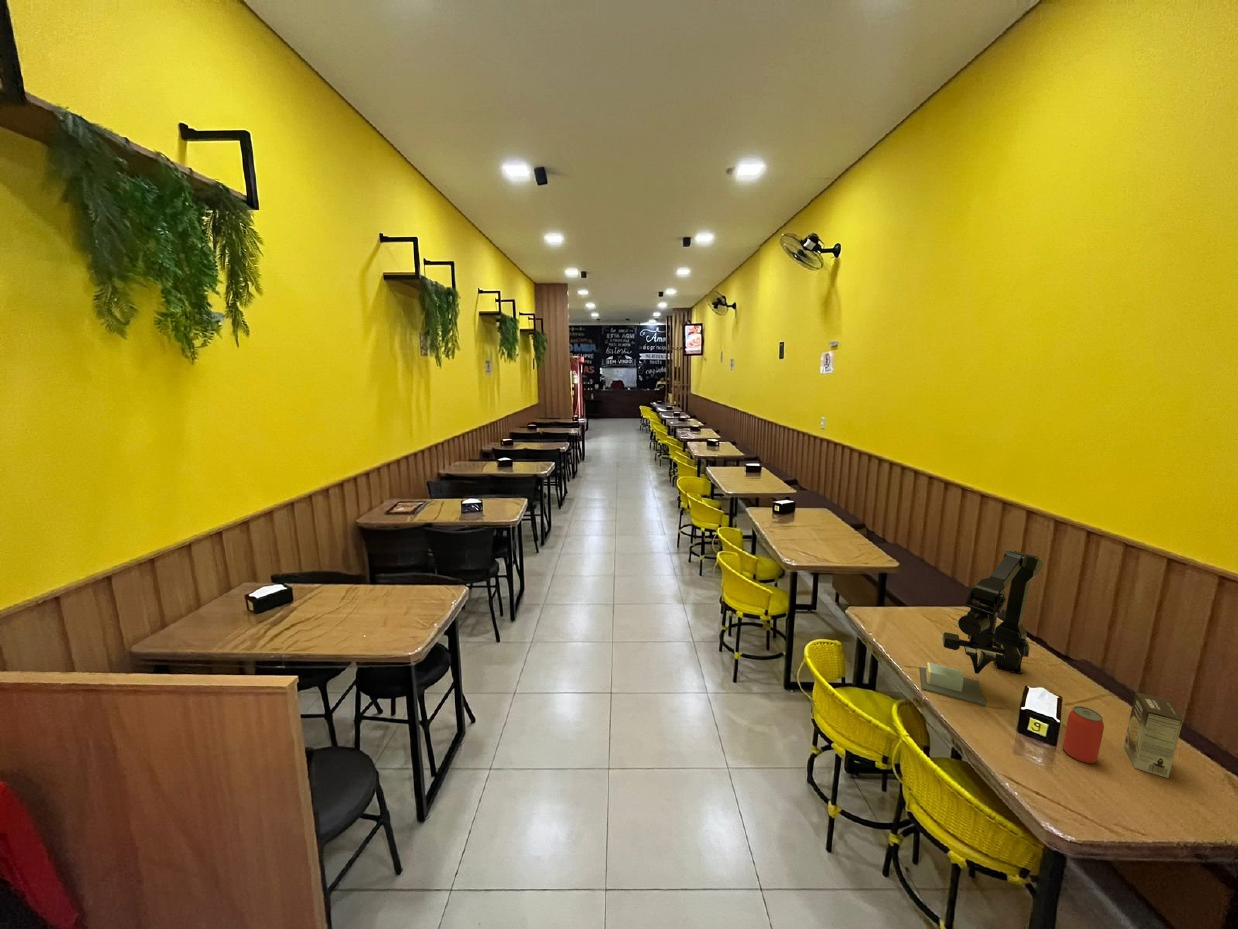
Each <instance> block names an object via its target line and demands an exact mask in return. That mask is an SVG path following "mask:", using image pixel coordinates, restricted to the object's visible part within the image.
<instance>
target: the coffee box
mask: <svg viewBox="0 0 1238 929" xmlns="http://www.w3.org/2000/svg"><path fill="white" fill-rule="evenodd" d="M1183 722H1184V720H1183V718H1182V717H1181V715H1180V714H1179V712H1178V710H1177V709H1176V708H1175V706H1174V705H1173V703H1172V701H1170V700H1169V699H1165V698H1162V697H1158V696H1154V695H1150V694H1145V693H1141V692H1135V693H1134V697H1133V701H1132V706H1131V710H1130V714H1129V720H1128V724H1127V725H1128V726H1127V730H1126V734H1125V739H1124V742H1123V747H1124V750H1125V751H1126V754H1127V756H1128V758H1129V760H1130V761H1131V764H1132V766H1133V768H1135V769H1137V770H1140V771H1143V772H1146V773H1150V774H1153V775H1157V776H1159V777H1162V778H1163V777H1164V778H1167V779H1169V776H1170V774H1171V769H1172V765H1173V761H1174V757H1175V753H1176V749H1177V745H1178V740H1179V737H1180V735H1181V734H1180V733H1181V729H1182V726H1183Z"/></svg>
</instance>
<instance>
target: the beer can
mask: <svg viewBox="0 0 1238 929" xmlns="http://www.w3.org/2000/svg"><path fill="white" fill-rule="evenodd" d="M1103 719H1104V718H1103V716H1102V715H1101V714H1100V713H1099V712H1097V711H1096V710H1094V709H1091V708H1090V707H1087V706H1081V705H1075V706H1073V707H1072V709H1071V711H1070V712H1069V713H1068V716H1067V721H1066V727H1065V732H1064V737H1063V742H1062V748H1063V750H1064V752H1065V753H1066V754H1068V755H1069V757H1071V758H1073V759H1074V760H1077V761H1080V762H1081V763H1087V764H1094V763H1097V760H1098V759H1099V754H1100V750H1101V744H1102V739H1103V736H1104V735H1103V734H1104V730H1105V724H1104V720H1103Z"/></svg>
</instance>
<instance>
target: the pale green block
mask: <svg viewBox="0 0 1238 929" xmlns="http://www.w3.org/2000/svg"><path fill="white" fill-rule="evenodd" d="M926 668H927V669H926V678H927V683H928V684H932V685H935V686H939V687H943V688H947V689H951V690H955V691H959V692H962V687H963V674H962V670H961V669H957V668H954V667H949V666H945V665H941V664H938V663H937V664H936V663H933V662H929V661H927V664H926Z"/></svg>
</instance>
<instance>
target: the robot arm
mask: <svg viewBox="0 0 1238 929" xmlns="http://www.w3.org/2000/svg"><path fill="white" fill-rule="evenodd" d="M1042 568H1043V561H1042V560H1041V559H1040V557H1039V556H1036V555H1033V554H1029V553H1024V552H1021V551H1017V550H1015V551H1012V550H1007V551H1005V553H1004V555H1003V558H1002V559H1001V561H1000V562H999V564H998V565H997V566H996V568H995V569H994V571H993V572H992V573H991V574H990V576H989V577H987V578H983V579H980V580H979V581H978V582H977V583H976V584H974V585H973V586H972V588H971V590H970V593H968V594H969V595H968V597H967V599H966V602H965V605H964V606H965V607H966V608H969V611H967V613H966V614H964V615H963V616H961V617H960V618H958V619H959V620H958V622H957V625H958V628H959V629H960V631H961V632H962V633H964V634H965V635H967V640H965V639H961V638H960V636H959V634H956V633H952V632H947V631H946V632H944V633H943V634H942V645H943V648H945V649H949V650H953V651H957V650H960V647H962V648H963V649H964V653H965V655H967V657H968V656H969V657H970V660H971V661H972V662H971V663H972V666H973V670H974V674H976V675H979V674H980V672H981V671H982V670H984V668H986V666H987V665H988V664H989V663H991V662H993V663H994V664H995V666H996V669H999V670H1002V671H1006V672H1011V673H1016V674H1019V675H1020V674H1021V675H1022V673H1023V672H1022V670H1021V667H1022V662H1023V658H1024V657H1025V658H1029V656H1030V655H1029V654H1030V648H1031V646H1030V645H1029V641H1028V640H1027V635H1028V634H1027V630H1026V629H1025V627H1024V625H1023V622H1024V621H1023V620H1024V615H1025V608H1026V604H1027V599H1028V595H1029V589H1030V583H1031V581H1033V580H1034V579H1035V578H1036V577H1037V576H1038V575H1039V572H1041V570H1042ZM1009 584H1010V586H1009ZM1008 586H1009V592H1008V597H1007V595H1006V589H1007V587H1008ZM1005 607H1006V608H1005ZM1004 608H1005V612H1004V617H1003V620H1002V622H1000V623H999V624H998V625H997V621H998V615H999V614H1001V613H1002V611H1003V609H1004ZM977 651H980V654H979V655H978V652H977Z"/></svg>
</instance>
